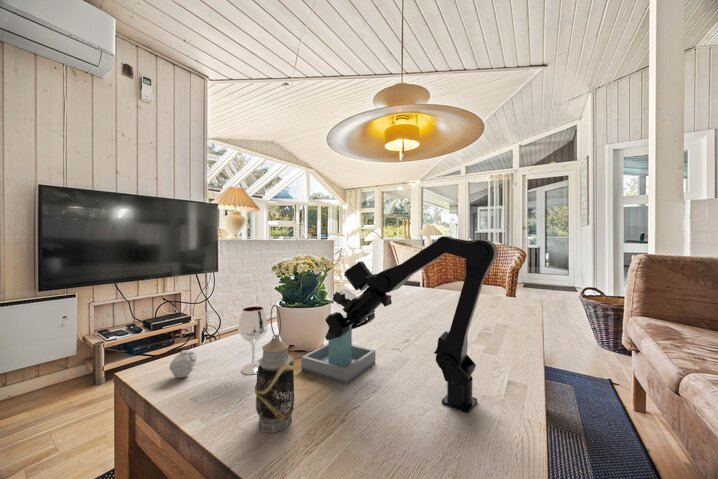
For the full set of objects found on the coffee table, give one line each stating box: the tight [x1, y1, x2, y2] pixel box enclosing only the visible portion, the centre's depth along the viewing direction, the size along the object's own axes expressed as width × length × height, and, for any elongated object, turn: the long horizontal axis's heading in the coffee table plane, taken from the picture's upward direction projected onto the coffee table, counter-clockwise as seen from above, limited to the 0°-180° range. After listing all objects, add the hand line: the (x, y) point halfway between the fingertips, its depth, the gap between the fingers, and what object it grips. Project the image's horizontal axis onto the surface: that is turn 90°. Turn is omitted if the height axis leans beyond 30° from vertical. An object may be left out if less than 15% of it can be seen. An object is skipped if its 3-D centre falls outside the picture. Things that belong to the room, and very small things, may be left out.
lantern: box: [254, 304, 296, 433], centre depth 62 cm, size 9×8×25 cm
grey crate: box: [300, 342, 376, 386], centre depth 89 cm, size 16×16×4 cm
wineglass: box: [237, 306, 269, 376], centre depth 87 cm, size 8×8×18 cm
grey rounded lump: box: [169, 349, 197, 379], centre depth 82 cm, size 6×7×7 cm
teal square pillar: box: [328, 314, 353, 367], centre depth 89 cm, size 5×5×14 cm
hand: (335, 334), depth 90 cm, fingers open, 9 cm apart
